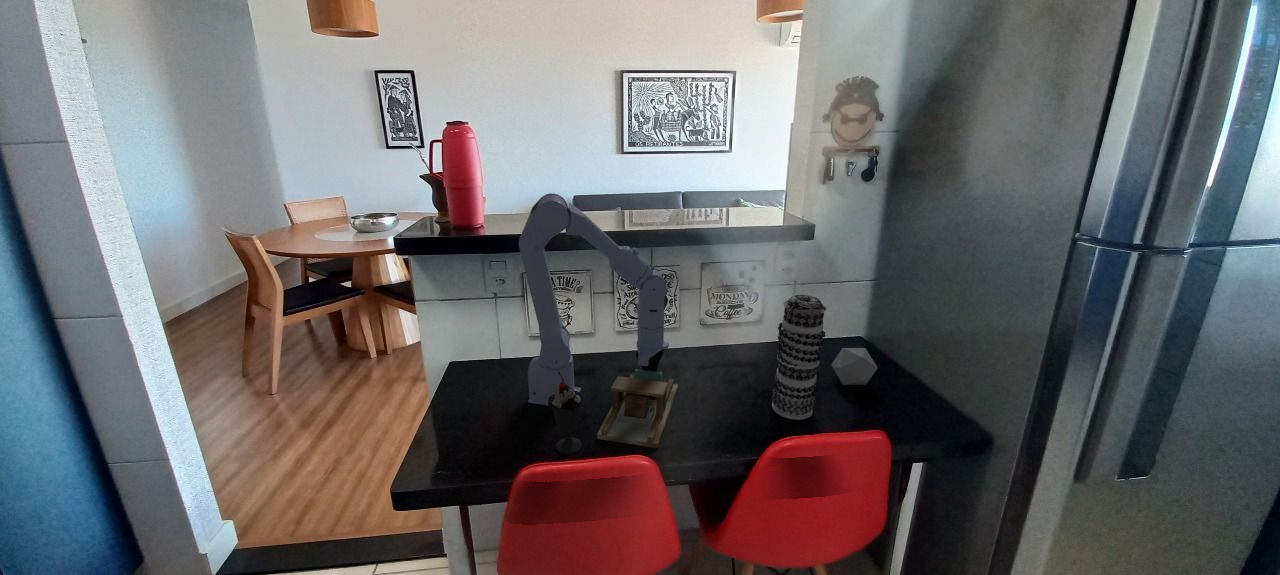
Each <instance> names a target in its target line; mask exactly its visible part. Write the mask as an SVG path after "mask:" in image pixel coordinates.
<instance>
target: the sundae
mask: <svg viewBox="0 0 1280 575" xmlns="http://www.w3.org/2000/svg"><path fill="white" fill-rule="evenodd" d="M558 374H559V375H560V372H558ZM560 376H561V375H560ZM561 377H562V376H561ZM583 395H584V394H582V393H581V392H577V391H574V390H573V389H572V388H571V387H569V386H566V383H564V379H563V377H562V383H560V385H559V389H558V390H557V391H556V393H555V394H553V395H551V396H550V397H549V398H548V405H547V406H548V407H549V408H550V409H552V410H553V415H554V420H555V424H556V426H557V428H558V430H560V431H561V432H564V436H565V437H564V438H561V439H560V440H559V441H558V442H557V443H556V444H555V449H556V451H557V452H558V453H560V454H563V455H572V454H576V453H577V452H579V451H580V450H581V449H582V447H583V443H582V441H581V440H580V439H579V438H576V437H573V435H572V432H573V431H575V429H576V428H577V427H578V426H579V422H580V414H581V407H582V405H583V404H584V402H585V400H586V398H585V396H583Z"/></svg>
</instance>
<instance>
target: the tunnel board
mask: <svg viewBox="0 0 1280 575" xmlns="http://www.w3.org/2000/svg"><path fill="white" fill-rule="evenodd" d="M678 387H679V384H677V383H674V379H673V378H669V379H668V381H667V382H666V381H662V382H659V381H651V380H643V379H635V373H634V374H633V373H631V374H630V375H629V377H625V376H618V375H617V377H616V378H615V380H614V382H613V384H612V385H611V387H610V391H611V407H610V409H609V410H608V413H607V415H606V417H605V418H604V420H603V422H602V424H601V426H600V427H599V430H598V432H597V433H596V439H597V440H603V441H610V442H615V443H621V444H629V445H636V446H642V447H648V448H654V449H659V447H660V443H661V440H662V436H663V435H664V434H663V433H664V431H665V428H666V425H667V423H668V418H669V416H670V413H671V410H672V407H673V403H674V402H675V398H676V394H677V392H678ZM628 393H634V394H641V395H649V406H654V407H655V412H654V415H653V417H652V420H651V422H650V425H649V426H646V425H639V424H633V423H626V422H619V421H618V415H620V414H621V412H622V410H623V408H624V400H625V398H626V396H627V395H628Z"/></svg>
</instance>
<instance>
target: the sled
mask: <svg viewBox="0 0 1280 575" xmlns="http://www.w3.org/2000/svg"><path fill="white" fill-rule="evenodd" d="M634 374H635V379H643V380H651V381H659V382H663V372H661V371H657V372H656V371H648V370H642V369H638V368H635V369H634ZM654 412H655V407H654V406H649V407H648V412H647V415H646V417H645V419H642V418H635V417H628V416H625V411H624V408H623V410H622V412H621V414H620V415H618V421H619V422H626V423H633V424H639V425H646V426H649V425H650V422H651V420H652V417H653V415H654Z"/></svg>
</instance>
